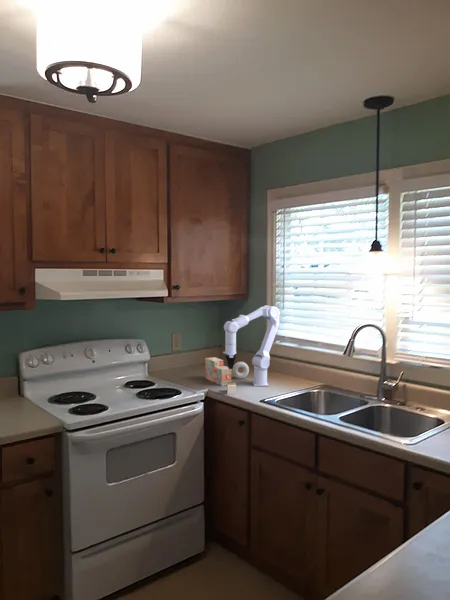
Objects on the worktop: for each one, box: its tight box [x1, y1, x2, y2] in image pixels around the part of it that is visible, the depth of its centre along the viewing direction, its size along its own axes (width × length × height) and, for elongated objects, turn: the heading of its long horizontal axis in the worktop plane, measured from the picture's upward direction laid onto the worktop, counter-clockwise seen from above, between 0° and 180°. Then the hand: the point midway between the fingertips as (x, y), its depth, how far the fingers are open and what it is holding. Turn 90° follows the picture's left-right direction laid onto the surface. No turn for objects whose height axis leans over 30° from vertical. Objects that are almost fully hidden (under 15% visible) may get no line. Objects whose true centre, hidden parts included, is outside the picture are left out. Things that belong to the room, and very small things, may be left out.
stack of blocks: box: [204, 356, 232, 387], centre depth 290 cm, size 21×6×12 cm, turn 27°
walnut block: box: [226, 381, 237, 395], centre depth 266 cm, size 4×4×8 cm
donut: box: [231, 361, 250, 380], centre depth 297 cm, size 10×4×10 cm, turn 101°
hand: (230, 368), depth 274 cm, fingers closed
